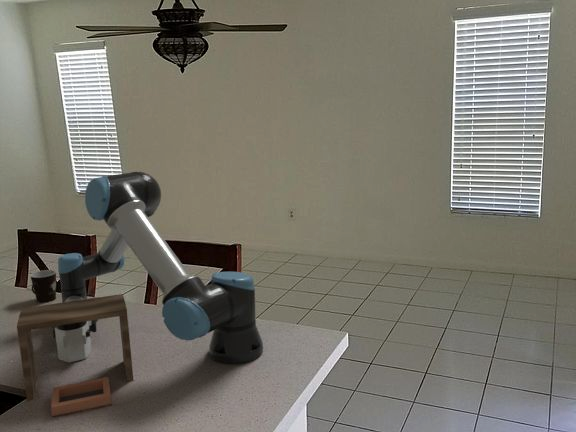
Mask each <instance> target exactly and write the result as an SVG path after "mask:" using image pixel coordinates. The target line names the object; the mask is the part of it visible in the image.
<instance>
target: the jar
mask: <svg viewBox="0 0 576 432" xmlns="http://www.w3.org/2000/svg"><path fill="white" fill-rule="evenodd" d="M89 322H90V321H85V322H79V323H72V324H66V325H60V326H56V328H55V335H56V338H55V341H56V342H55V343H56V349H57V356H58V360H60V361H62V362H65V363H73V362H78V361H82V360H86V359H87V358H88V356H89V355H90V354H91V353H92V341H91V336H90V337H86V344H84V345H83V336H82V333H83V332H84V331H85V334H86V332H87V330H88V329H89V326H90V323H89ZM63 336H66V338H67V348H64V341H63Z"/></svg>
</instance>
